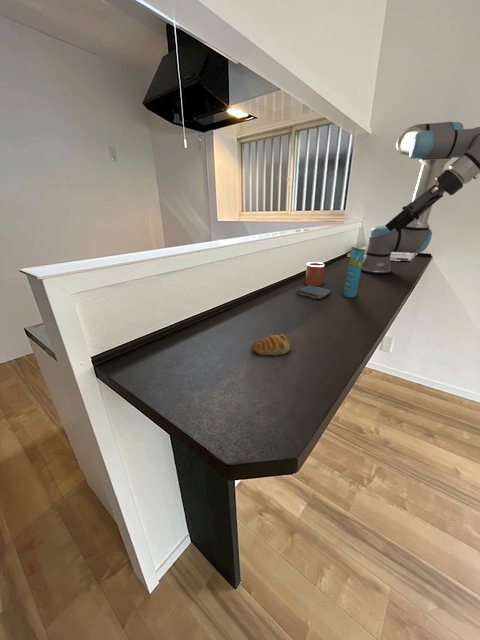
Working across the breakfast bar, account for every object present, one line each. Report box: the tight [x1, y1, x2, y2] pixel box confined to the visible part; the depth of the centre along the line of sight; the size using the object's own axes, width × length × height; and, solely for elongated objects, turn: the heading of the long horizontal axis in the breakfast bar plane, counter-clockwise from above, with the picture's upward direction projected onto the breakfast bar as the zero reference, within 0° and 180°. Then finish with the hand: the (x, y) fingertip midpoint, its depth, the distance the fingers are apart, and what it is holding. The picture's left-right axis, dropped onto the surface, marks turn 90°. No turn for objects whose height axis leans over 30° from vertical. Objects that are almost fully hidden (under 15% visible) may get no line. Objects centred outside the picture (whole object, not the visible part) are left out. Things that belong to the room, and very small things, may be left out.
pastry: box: [252, 333, 291, 356], centre depth 70 cm, size 9×7×4 cm
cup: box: [304, 262, 326, 287], centre depth 121 cm, size 8×8×9 cm
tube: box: [342, 246, 366, 298], centre depth 104 cm, size 7×5×19 cm, turn 23°
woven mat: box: [297, 285, 331, 300], centre depth 110 cm, size 10×11×2 cm
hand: (391, 229), depth 94 cm, fingers open, 13 cm apart
